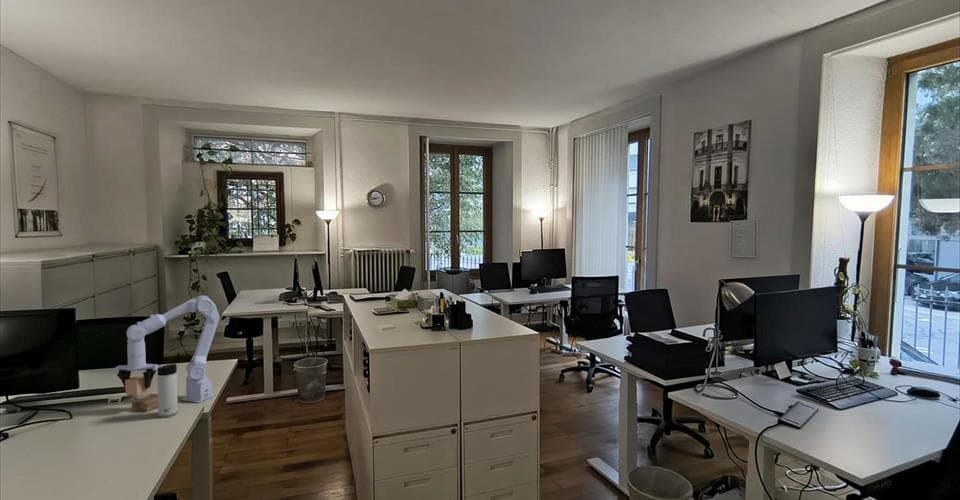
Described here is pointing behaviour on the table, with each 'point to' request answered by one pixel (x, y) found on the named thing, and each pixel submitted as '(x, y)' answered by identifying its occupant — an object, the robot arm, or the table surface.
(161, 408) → the travel mug
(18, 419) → the table surface
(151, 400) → the walnut block
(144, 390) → the terracotta block
